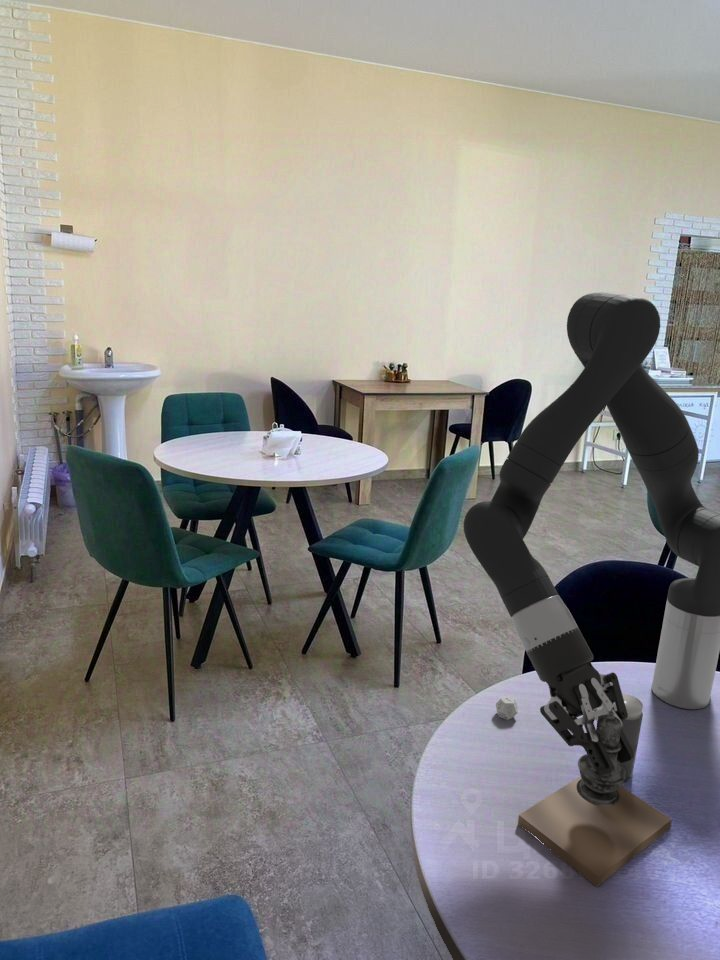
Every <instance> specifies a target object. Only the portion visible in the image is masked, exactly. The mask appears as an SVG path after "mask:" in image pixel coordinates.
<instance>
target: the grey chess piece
mask: <svg viewBox="0 0 720 960" xmlns="http://www.w3.org/2000/svg"><path fill="white" fill-rule="evenodd" d="M613 715H614V713H613V711H610V712H609V714H606V715H602V716H600V717H599V719H598V721H596V726H595V729H596V732H597V735H598V738H599V739H598V741H601V742H602V744H603V746H604V748H605V749H606V751H607V753H608V755H609V757H610V759H611V761H612V763H613V765H614V767H615V770H614V771H613V772H611V773H609V774H605V775H600V774H599V773H598V772H597V771H596V770H595V769H594V767H593V765H592V763H591V760H590V759H589V757H588V755H587V753H586V754H583V755H581V756H580V757H579V759H578V761H577V766H578V769H579V770H578V771H579V774H580V775H579V776H581V778H582V779H580V780H579V781H578V783H577V791H578V793H579V794H580V796H581V797H582V798H583V799H585V800H586V801H588V802H589V803H592V804H594V805H597V806H603V807H609V806H613V805H615V804H616V803H618V801H619V792H618V790H617V789H618V788H619V787H620V786H622V783H624V782H623V781H624V780H625V778H626V771H625V769H624V768H623V766H622V765H621V764H620V763H619V762H618V761H617V754H618V751H619V750H621V743H620V742H619V740H620V734H621V728H622V724H621V722H620V720H619V719H618V718H617V717H615V716H613Z"/></svg>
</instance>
